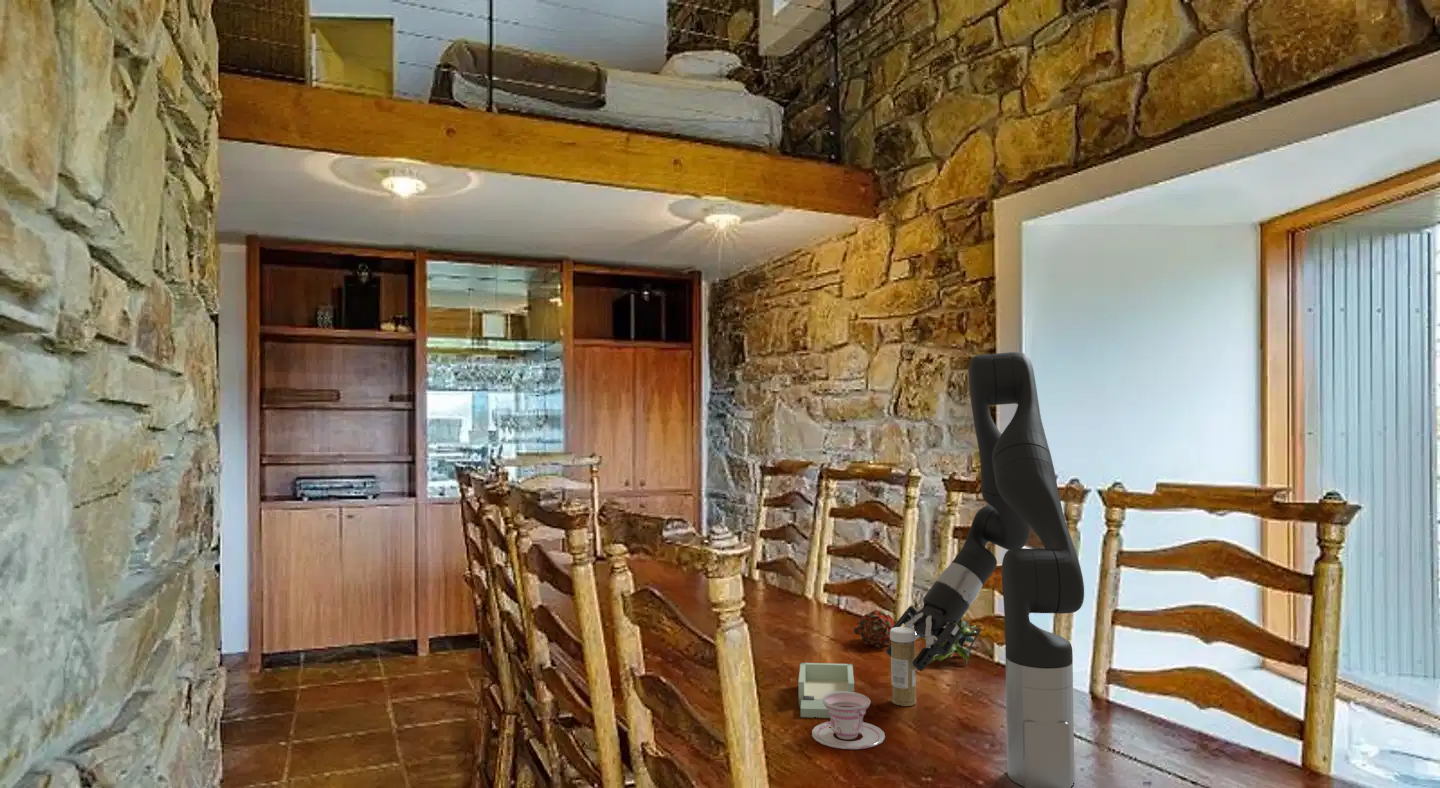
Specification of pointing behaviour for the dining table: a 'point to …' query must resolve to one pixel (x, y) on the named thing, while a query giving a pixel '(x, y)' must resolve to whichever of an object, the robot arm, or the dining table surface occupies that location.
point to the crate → (822, 685)
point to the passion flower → (961, 641)
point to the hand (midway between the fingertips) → (902, 661)
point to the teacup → (847, 722)
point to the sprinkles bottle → (903, 666)
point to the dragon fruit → (875, 628)
